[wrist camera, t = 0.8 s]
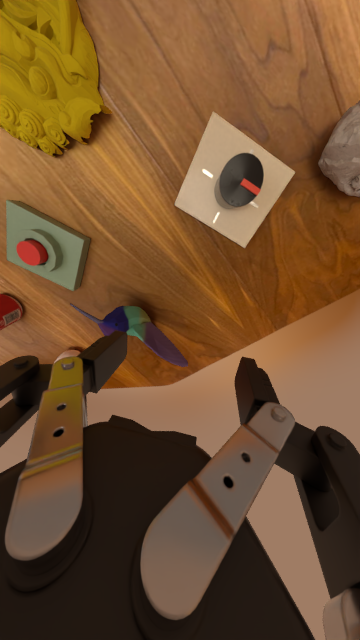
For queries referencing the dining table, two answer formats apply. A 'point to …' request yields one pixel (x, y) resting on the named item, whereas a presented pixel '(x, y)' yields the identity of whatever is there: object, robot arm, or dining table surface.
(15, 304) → the beverage can
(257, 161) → the knob
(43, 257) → the button
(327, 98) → the dining table surface
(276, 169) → the panel
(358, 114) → the fossil
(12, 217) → the button box
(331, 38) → the dining table surface
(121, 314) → the decorative sculpture
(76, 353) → the egg
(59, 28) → the door knocker
